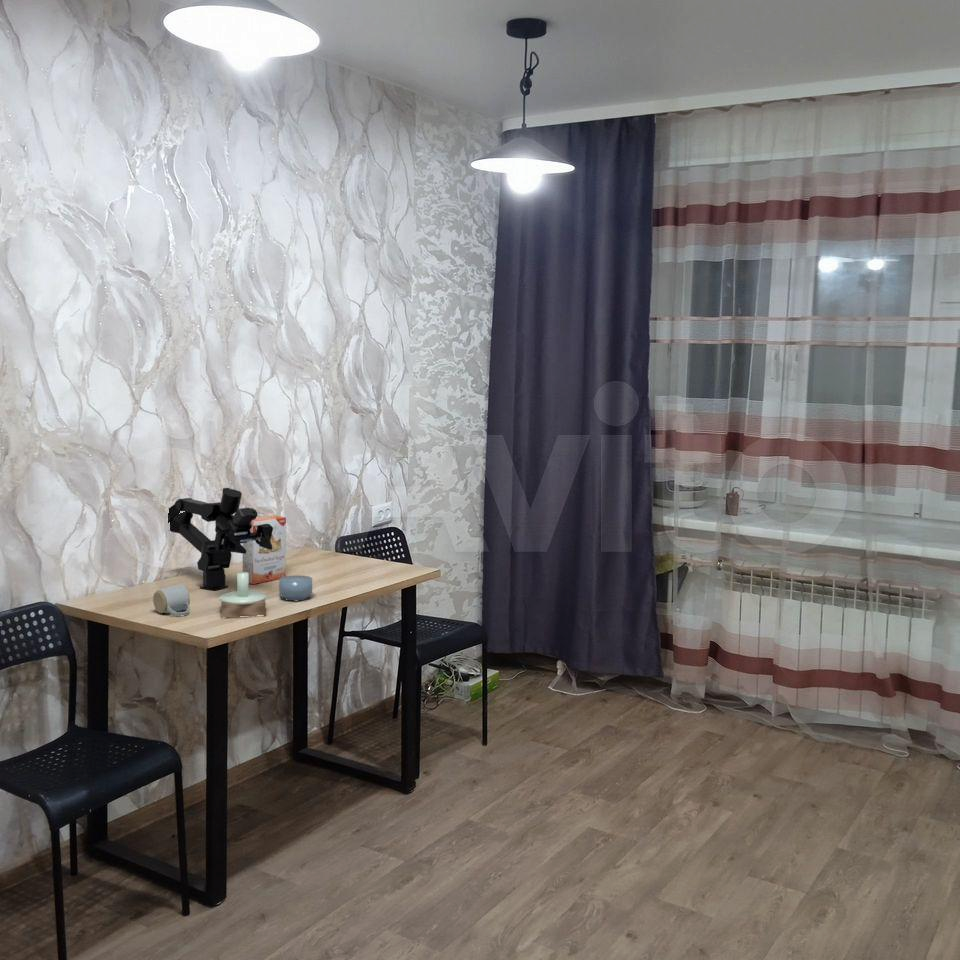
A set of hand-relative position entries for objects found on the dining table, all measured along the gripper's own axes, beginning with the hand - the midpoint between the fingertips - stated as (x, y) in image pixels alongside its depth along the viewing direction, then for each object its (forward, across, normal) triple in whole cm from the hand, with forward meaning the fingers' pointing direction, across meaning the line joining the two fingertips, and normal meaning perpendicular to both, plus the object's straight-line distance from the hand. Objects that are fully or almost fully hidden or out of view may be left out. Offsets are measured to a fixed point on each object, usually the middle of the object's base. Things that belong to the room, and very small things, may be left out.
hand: (258, 550), depth 293 cm
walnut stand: (+11, -10, +13) cm, 20 cm away
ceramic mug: (0, -24, +18) cm, 30 cm away
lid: (+10, -10, +9) cm, 17 cm away
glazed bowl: (+8, +11, +14) cm, 20 cm away
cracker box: (-17, +18, +23) cm, 34 cm away
